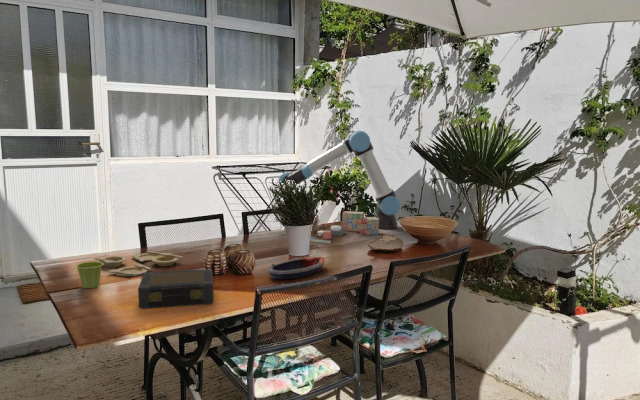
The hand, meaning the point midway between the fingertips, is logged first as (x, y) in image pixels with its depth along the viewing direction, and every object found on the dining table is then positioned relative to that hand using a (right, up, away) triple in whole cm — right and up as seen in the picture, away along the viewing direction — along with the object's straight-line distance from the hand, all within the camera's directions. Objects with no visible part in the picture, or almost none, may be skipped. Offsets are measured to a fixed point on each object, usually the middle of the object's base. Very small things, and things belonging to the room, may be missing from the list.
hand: (309, 224), depth 283 cm
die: (+10, -7, -9) cm, 15 cm away
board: (+9, -7, -1) cm, 11 cm away
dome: (+15, -5, +2) cm, 16 cm away
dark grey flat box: (-46, -22, -102) cm, 114 cm away
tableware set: (-75, -16, -60) cm, 97 cm away
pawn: (+3, -6, -3) cm, 7 cm away
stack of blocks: (+30, -6, +14) cm, 34 cm away
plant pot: (-83, -20, -92) cm, 125 cm away
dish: (-3, -18, -71) cm, 73 cm away
